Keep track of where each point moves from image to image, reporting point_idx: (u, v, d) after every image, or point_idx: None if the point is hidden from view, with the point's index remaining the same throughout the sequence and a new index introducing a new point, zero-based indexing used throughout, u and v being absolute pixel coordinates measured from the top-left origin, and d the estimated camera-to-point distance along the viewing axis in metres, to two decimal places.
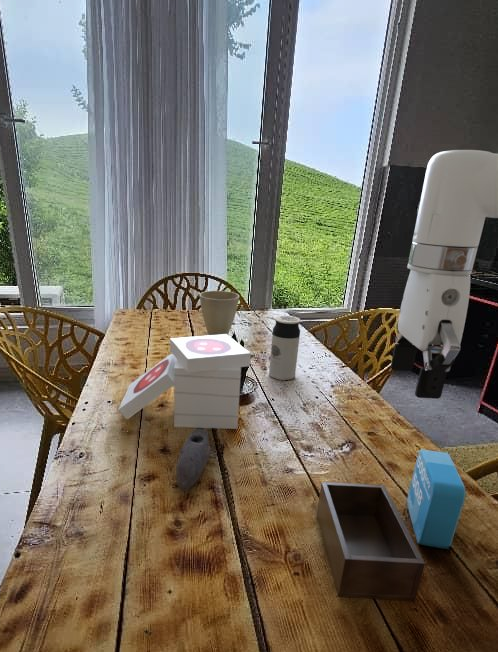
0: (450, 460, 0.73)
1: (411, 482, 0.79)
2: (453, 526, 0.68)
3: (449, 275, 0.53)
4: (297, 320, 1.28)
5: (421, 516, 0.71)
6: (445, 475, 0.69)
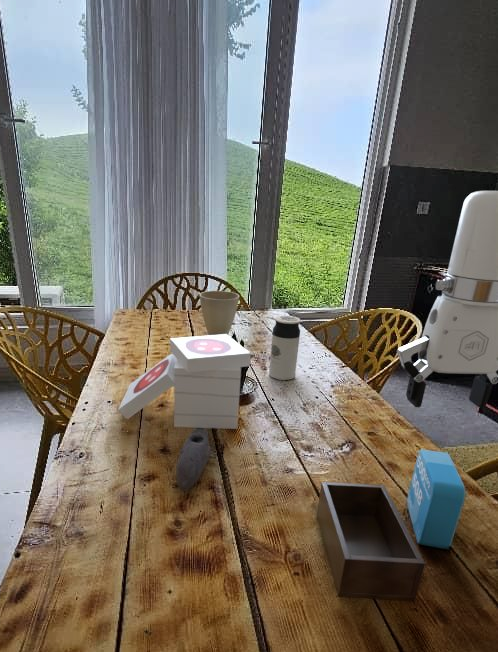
0: (450, 460, 0.73)
1: (411, 482, 0.79)
2: (453, 526, 0.68)
3: (441, 298, 0.60)
4: (297, 320, 1.28)
5: (421, 516, 0.71)
6: (445, 475, 0.69)
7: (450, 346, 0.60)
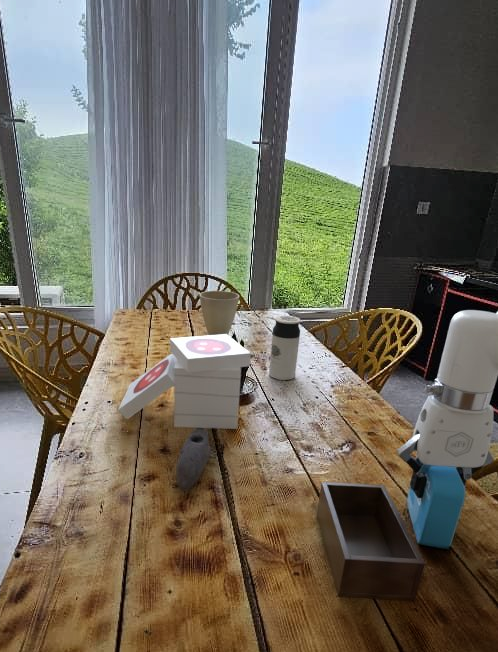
0: None
1: None
2: (453, 526, 0.68)
3: (431, 400, 0.67)
4: (297, 320, 1.28)
5: (421, 516, 0.71)
6: (445, 475, 0.69)
7: (437, 444, 0.67)
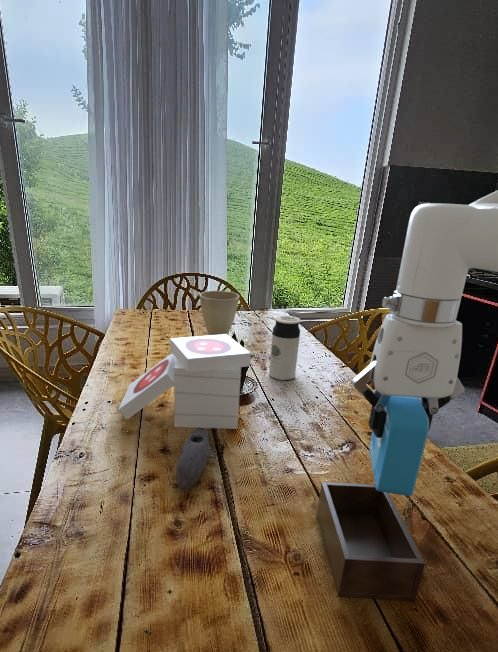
0: None
1: None
2: (415, 466, 0.57)
3: (389, 316, 0.57)
4: (297, 320, 1.28)
5: (380, 458, 0.61)
6: (407, 407, 0.58)
7: (396, 368, 0.56)
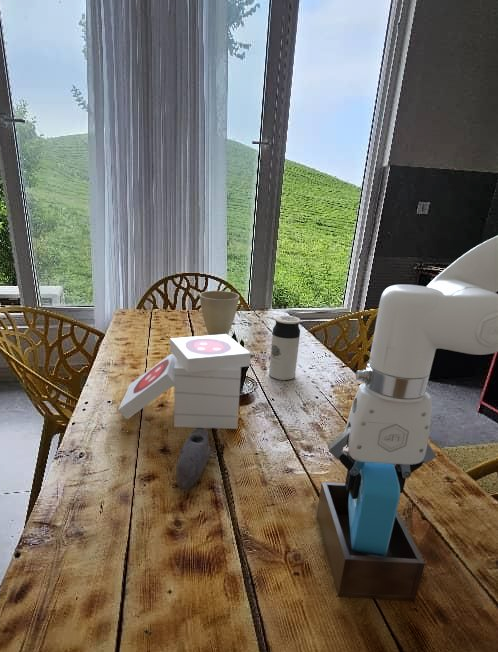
0: None
1: None
2: (388, 530, 0.60)
3: (362, 387, 0.59)
4: (297, 320, 1.28)
5: (355, 519, 0.63)
6: (380, 473, 0.61)
7: (369, 437, 0.59)
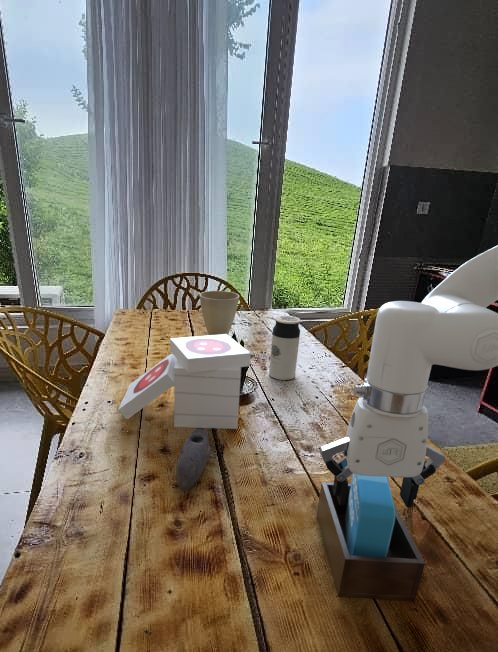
0: (385, 477, 0.66)
1: (348, 499, 0.73)
2: (383, 551, 0.61)
3: (360, 402, 0.60)
4: (297, 320, 1.28)
5: (352, 539, 0.64)
6: (376, 494, 0.62)
7: (367, 451, 0.59)
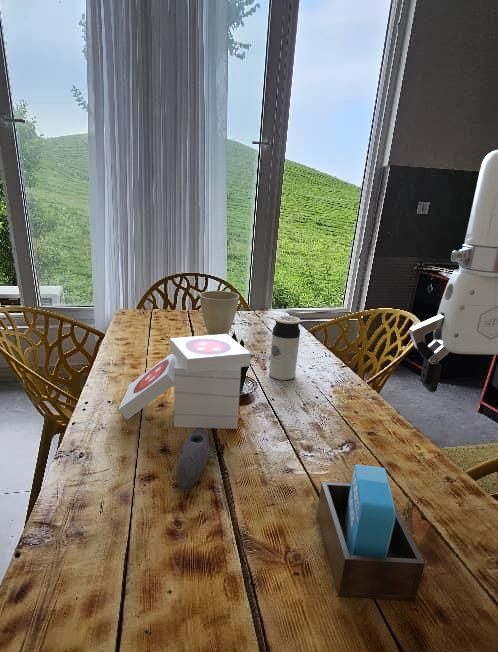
0: (385, 477, 0.66)
1: (348, 499, 0.73)
2: (383, 551, 0.61)
3: (458, 271, 0.55)
4: (297, 320, 1.28)
5: (352, 539, 0.64)
6: (376, 494, 0.62)
7: (467, 323, 0.54)
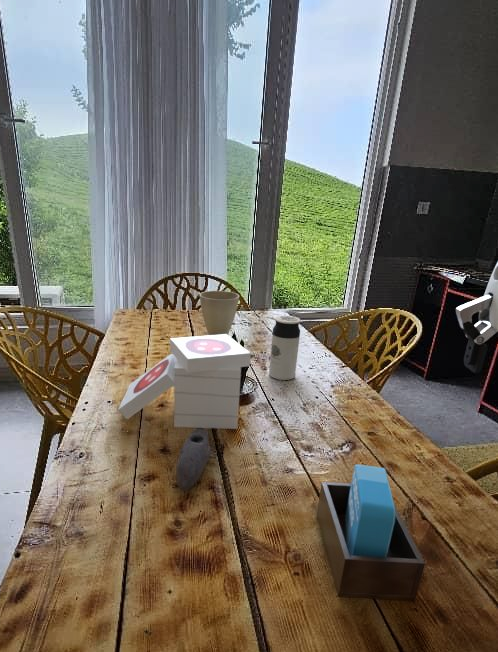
0: (385, 477, 0.66)
1: (348, 499, 0.73)
2: (383, 551, 0.61)
3: None
4: (297, 320, 1.28)
5: (352, 539, 0.64)
6: (376, 494, 0.62)
7: None
